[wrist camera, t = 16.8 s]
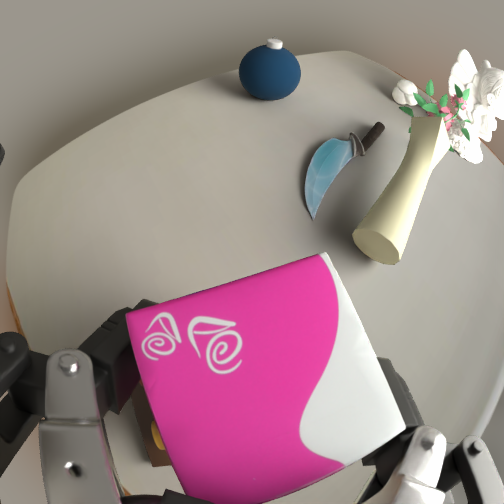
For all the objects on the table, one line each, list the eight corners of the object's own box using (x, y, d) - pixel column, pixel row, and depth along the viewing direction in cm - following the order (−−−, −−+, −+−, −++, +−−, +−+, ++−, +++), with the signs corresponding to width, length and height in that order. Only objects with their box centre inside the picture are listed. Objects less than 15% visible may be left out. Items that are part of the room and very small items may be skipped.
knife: (274, 196, 27) (315, 227, 26) (278, 187, 25) (321, 219, 25) (354, 112, 35) (382, 132, 34) (358, 105, 33) (387, 125, 33)
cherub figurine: (461, 166, 35) (518, 84, 17) (419, 118, 40) (461, 37, 22) (486, 163, 38) (533, 98, 20) (451, 121, 43) (488, 56, 25)
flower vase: (323, 257, 32) (412, 112, 40) (410, 308, 26) (469, 137, 34) (314, 196, 22) (415, 58, 30) (446, 265, 16) (483, 84, 24)
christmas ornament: (305, 99, 36) (320, 43, 27) (270, 118, 33) (283, 51, 24) (262, 79, 38) (270, 25, 29) (224, 94, 35) (228, 33, 26)
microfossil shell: (394, 94, 43) (404, 74, 38) (416, 110, 41) (427, 89, 36) (386, 98, 41) (397, 76, 36) (409, 114, 39) (421, 92, 35)
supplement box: (268, 329, 17) (334, 243, 7) (302, 411, 15) (416, 435, 5) (182, 357, 16) (117, 308, 6) (215, 442, 14) (202, 532, 3)
